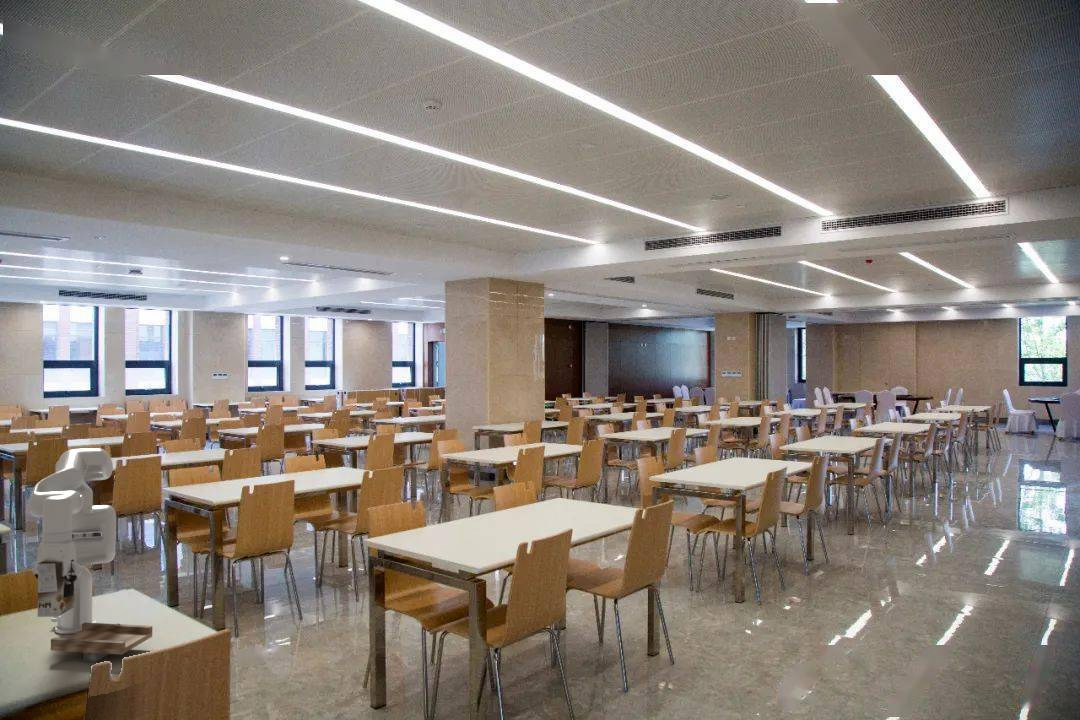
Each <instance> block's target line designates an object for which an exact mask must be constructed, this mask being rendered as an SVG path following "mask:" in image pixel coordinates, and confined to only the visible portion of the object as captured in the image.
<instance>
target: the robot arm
mask: <svg viewBox="0 0 1080 720" xmlns="http://www.w3.org/2000/svg"><path fill="white" fill-rule="evenodd" d="M113 464H114V463H113V460H112V458H111V456H110V454H109V453H108V451H107V450H105V449H104V448H101V447H100V448H98V447H96V448H93V447H92V448H73V449H69V450H66V451H64V452H63V453H62V454H61V455H60V457H59V459H58V460H57V461H56V463H55V472H54V473H52V474H50V475H48V476H46V477H45V478H43V479H41V480H40V481H38V482H37V483H36V484H35V485H34V486H33V489H32V491H31V494H30V497H29V499H28V507H27V508H28V512H29V514H30V515H31V516H32V517H35V518H42V532H40V534H39V537H40V538H42V539H41V542H39V545H38V549H37V554H36V563H35V565H33V567H32V568H31V571H32V573H33V574H34V576H35V579H37V580H38V563H40V562H42V561H45V562H46V561H47V562H48V561H49V562H62V575H61V576H62V577H63V576H64V580H65V582H66V584H65V585H64V597H65V598H67V597H69V596H72V595H73V594H74V582H75V607H74V608H72V609H70V610H69V611H67V612H65V613H64V614H62V615H60V616H58V617H51V620H50V621H51V623H56V626H55V627H54V632H55V633H57V634H61V635H70V634H71V635H73V634H75V633H77V632H79V631H81V630H82V624H83V623H98V621H97V619H94V618H93V575H92V573H91V571H90V570H89V569H88V568H87V567H86V566H88V565H98V564H99V565H100V564H107V563H110V562H112V561H113V560H114V559H115V557H116V556H115V555H116V549H117V548H116V545H117V543H116V540H117V514H116V510H115V507H114V506H112V505H108V504H101V505H99V504H98V505H97V504H96V505H94V504H93V501H94V500H93V499H94V498H93V497H94V493H93V492H94V491H93V490H92V488H91V487H90V486H89V485H88V483H86V481H87V482H88V481H103V480H107V479H109V478H110V477H111V476H112V474H113V470H114V467H113ZM94 533H99V534H101V535H100V536H98V535H97V536H82V537H73V535H76V534H79V535H81V534H82V535H83V534H94ZM74 572H75V574H73V573H74ZM68 575H69V577H70V579H69V577H68Z"/></svg>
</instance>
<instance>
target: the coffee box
mask: <svg viewBox="0 0 1080 720" xmlns="http://www.w3.org/2000/svg"><path fill="white" fill-rule="evenodd" d="M73 574H75V572H74V573H73ZM61 575H62V562H49V561H48V562H47V561H46V562H45V561H42V562H40V563H38V579H37V618H40V617H41V618H45V617H46V618H48V617H49V618H50V617H51V618H53V617H58V616H60V615H62V614H64V613H65V612H67V611H69V610H70V609H72V608H74V607H75V582H74V594H73V595H72V596H69V597H67V598H65V597H64V585H65V584H66V582H65V580H64V576H63V577H62V576H61ZM68 577H69V575H68ZM69 579H70V577H69Z"/></svg>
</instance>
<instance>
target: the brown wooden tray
mask: <svg viewBox="0 0 1080 720" xmlns="http://www.w3.org/2000/svg"><path fill="white" fill-rule="evenodd" d="M152 637H153V625H143V624H142V625H140V624H138V625H137V624H124V623H123V624H121V623H104V622H103V623H102V622H101V623H100V622H97V623H83V624H82V630H81V631H79V632H77V633H73V634H71V635H69V636H67V637H53V638H51V639H50V651H53V652H55V651H57V652H69V653H71V652H72V653H83V662H87V663H88V662H89V663H96V662H98V661H100V660H101V659H103V658H105V657H107V656H108V655H124V654H125V653H127V652H129V651H131V650H132V649H134V648H136V647H137V646H139V645H141V644H142V643H144V642H146V641H148V640H149V639H151V638H152Z"/></svg>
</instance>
